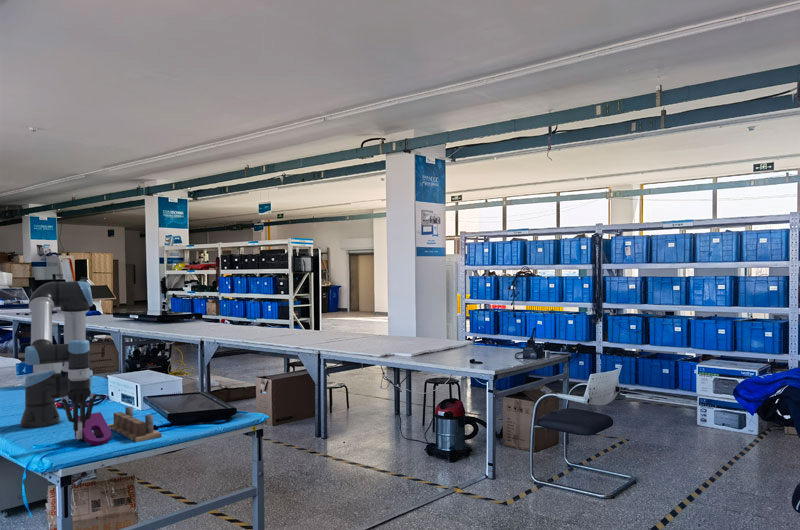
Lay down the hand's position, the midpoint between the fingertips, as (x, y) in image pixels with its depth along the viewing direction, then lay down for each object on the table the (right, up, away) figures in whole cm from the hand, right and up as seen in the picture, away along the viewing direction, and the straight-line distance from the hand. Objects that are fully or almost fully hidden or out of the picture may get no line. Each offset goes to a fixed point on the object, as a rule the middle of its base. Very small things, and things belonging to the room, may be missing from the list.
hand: (79, 438), depth 229 cm
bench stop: (+15, -2, +15) cm, 21 cm away
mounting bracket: (+4, -2, +4) cm, 6 cm away
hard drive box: (-89, -6, +125) cm, 153 cm away
